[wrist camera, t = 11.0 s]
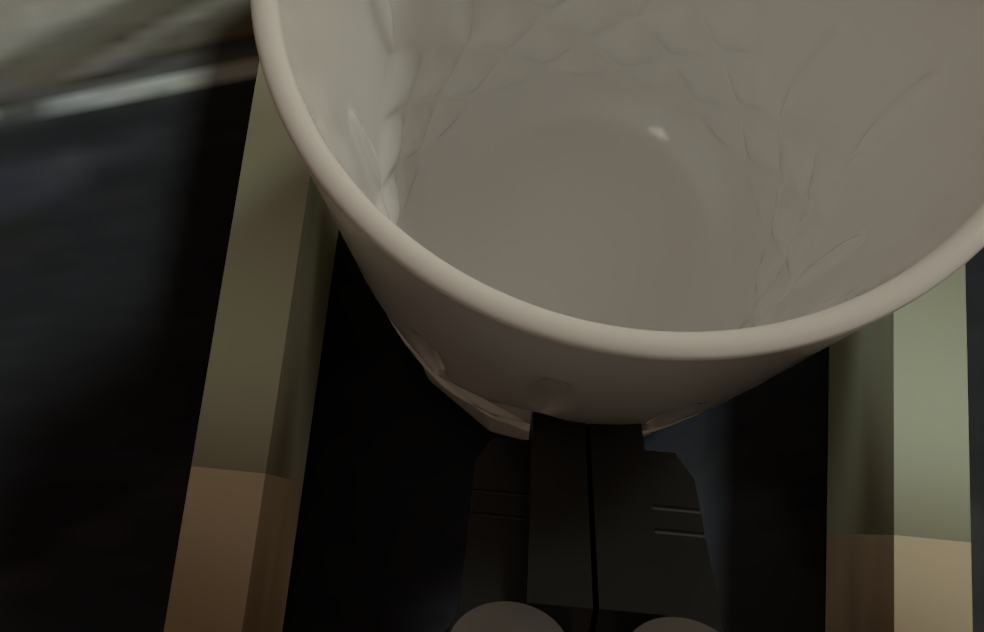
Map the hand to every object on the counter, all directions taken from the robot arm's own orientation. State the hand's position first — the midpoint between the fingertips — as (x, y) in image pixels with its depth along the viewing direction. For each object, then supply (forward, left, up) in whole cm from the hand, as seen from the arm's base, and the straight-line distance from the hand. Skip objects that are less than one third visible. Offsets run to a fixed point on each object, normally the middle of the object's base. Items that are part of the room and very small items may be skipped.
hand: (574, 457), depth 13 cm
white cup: (+3, -2, -5) cm, 6 cm away
